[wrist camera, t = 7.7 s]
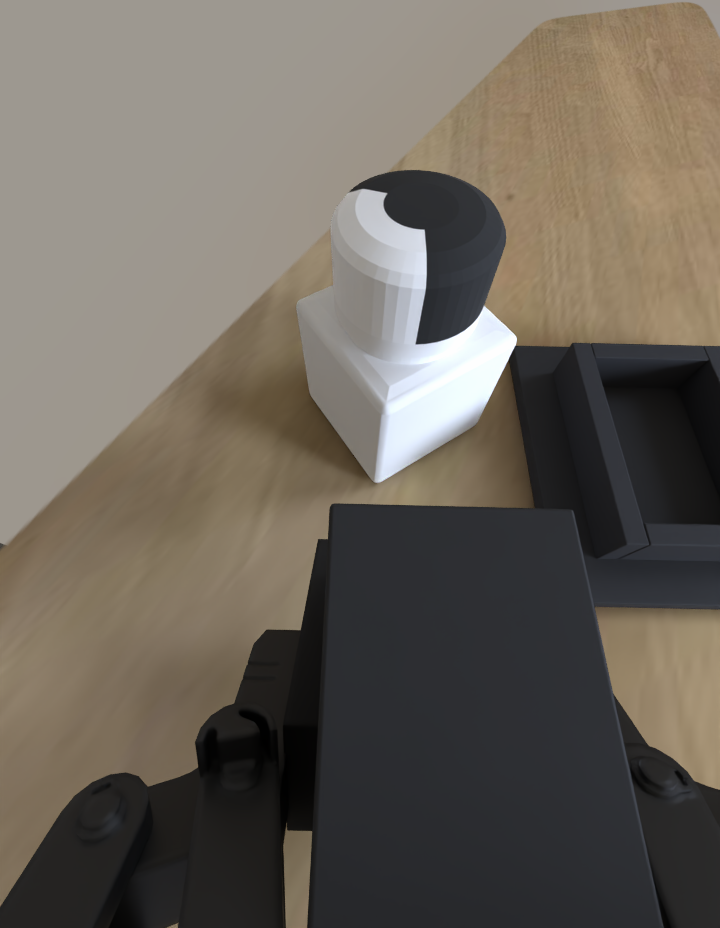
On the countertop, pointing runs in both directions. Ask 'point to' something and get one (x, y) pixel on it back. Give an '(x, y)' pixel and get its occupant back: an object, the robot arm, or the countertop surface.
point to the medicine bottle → (406, 317)
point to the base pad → (629, 463)
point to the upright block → (469, 730)
